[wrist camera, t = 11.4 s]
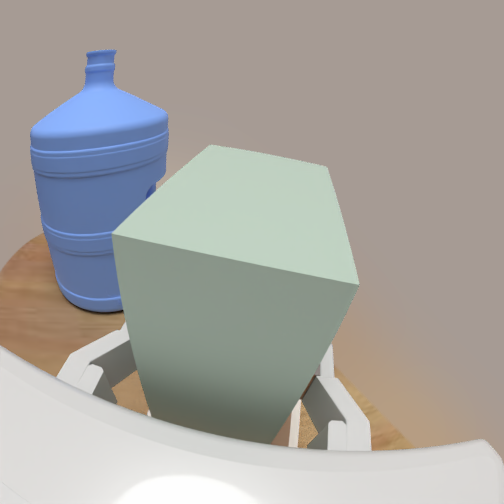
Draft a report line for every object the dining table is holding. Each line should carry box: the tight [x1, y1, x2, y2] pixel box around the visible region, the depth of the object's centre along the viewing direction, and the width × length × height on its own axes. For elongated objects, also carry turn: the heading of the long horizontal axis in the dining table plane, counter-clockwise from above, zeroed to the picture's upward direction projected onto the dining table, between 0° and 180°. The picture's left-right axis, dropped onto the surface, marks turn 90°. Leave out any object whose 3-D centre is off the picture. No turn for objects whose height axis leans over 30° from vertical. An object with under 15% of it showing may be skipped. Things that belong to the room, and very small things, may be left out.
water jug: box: [30, 50, 169, 312], centre depth 29 cm, size 16×16×28 cm
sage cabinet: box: [111, 145, 359, 444], centre depth 12 cm, size 4×8×14 cm, turn 172°
